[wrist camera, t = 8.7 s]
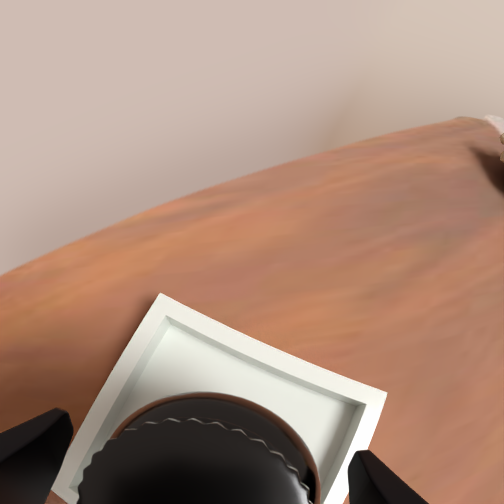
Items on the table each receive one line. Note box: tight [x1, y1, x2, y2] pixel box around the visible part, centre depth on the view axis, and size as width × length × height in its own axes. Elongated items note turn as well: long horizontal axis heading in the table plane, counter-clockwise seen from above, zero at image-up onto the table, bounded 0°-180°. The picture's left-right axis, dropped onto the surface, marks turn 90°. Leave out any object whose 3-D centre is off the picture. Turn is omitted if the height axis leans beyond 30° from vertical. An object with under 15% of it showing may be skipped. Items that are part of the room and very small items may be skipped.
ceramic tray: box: [51, 293, 387, 504], centre depth 14 cm, size 14×14×2 cm
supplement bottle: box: [76, 391, 321, 504], centre depth 9 cm, size 7×7×12 cm
